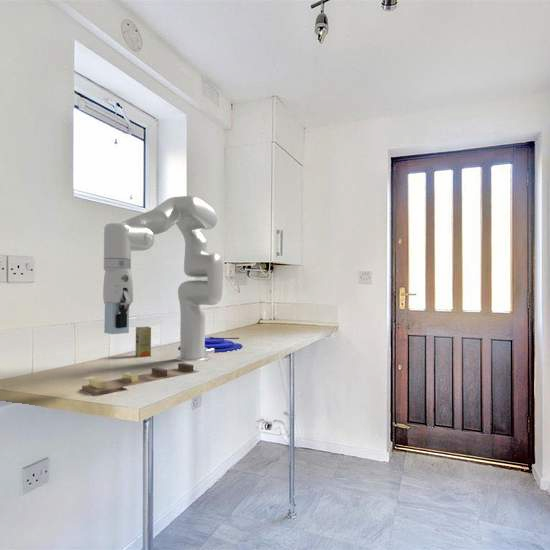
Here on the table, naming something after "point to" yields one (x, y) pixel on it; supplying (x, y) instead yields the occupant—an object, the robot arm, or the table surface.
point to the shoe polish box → (143, 341)
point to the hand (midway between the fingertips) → (116, 326)
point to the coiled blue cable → (221, 344)
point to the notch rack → (135, 379)
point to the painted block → (113, 319)
